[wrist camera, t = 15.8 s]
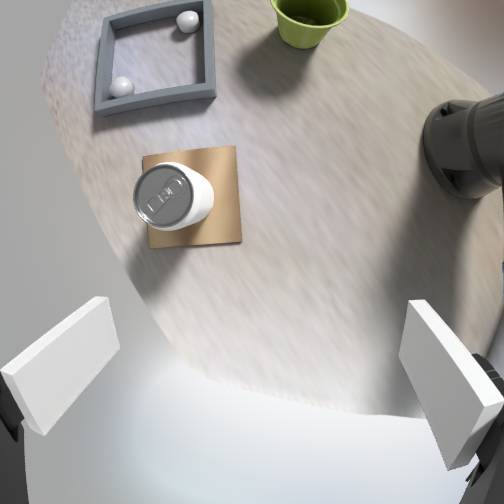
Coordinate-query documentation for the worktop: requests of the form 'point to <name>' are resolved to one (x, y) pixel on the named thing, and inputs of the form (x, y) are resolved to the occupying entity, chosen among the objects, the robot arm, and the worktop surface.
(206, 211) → the can
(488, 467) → the robot arm
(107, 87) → the tray
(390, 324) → the worktop surface
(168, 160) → the pad
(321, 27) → the plant pot
